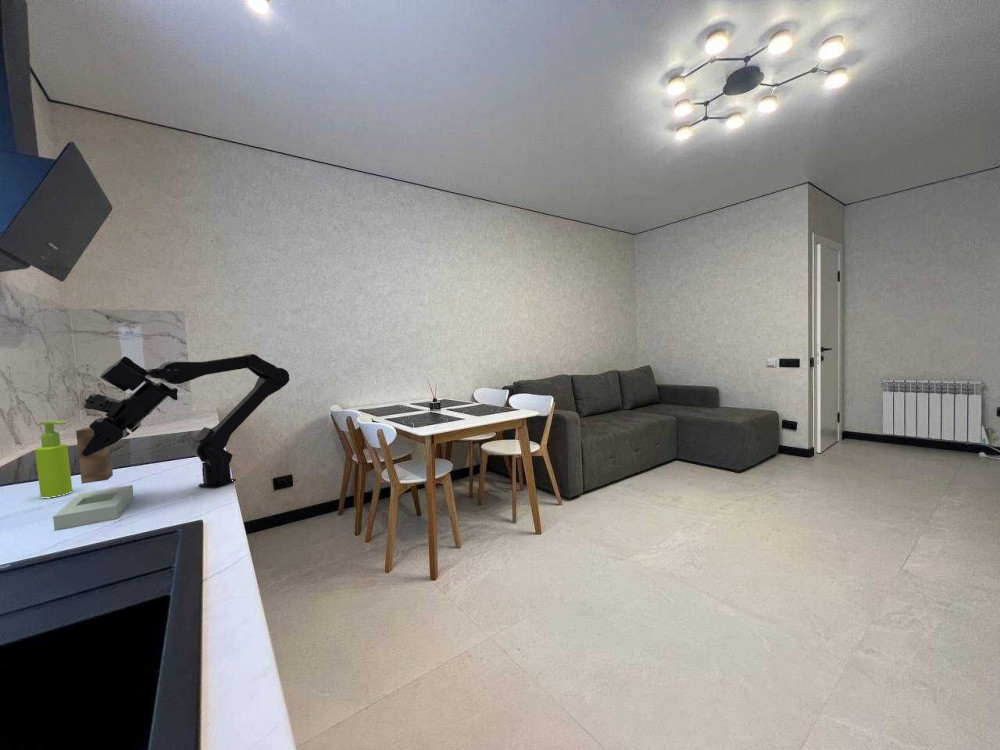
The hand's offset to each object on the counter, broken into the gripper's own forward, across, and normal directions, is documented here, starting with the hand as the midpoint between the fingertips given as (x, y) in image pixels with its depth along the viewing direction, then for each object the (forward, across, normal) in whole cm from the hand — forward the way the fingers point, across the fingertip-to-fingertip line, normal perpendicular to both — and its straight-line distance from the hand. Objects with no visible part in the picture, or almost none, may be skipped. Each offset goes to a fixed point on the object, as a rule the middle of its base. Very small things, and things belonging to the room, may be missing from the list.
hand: (87, 453), depth 100 cm
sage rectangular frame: (+8, +3, +11) cm, 14 cm away
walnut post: (+4, 0, +6) cm, 7 cm away
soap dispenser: (+18, -21, +1) cm, 28 cm away
